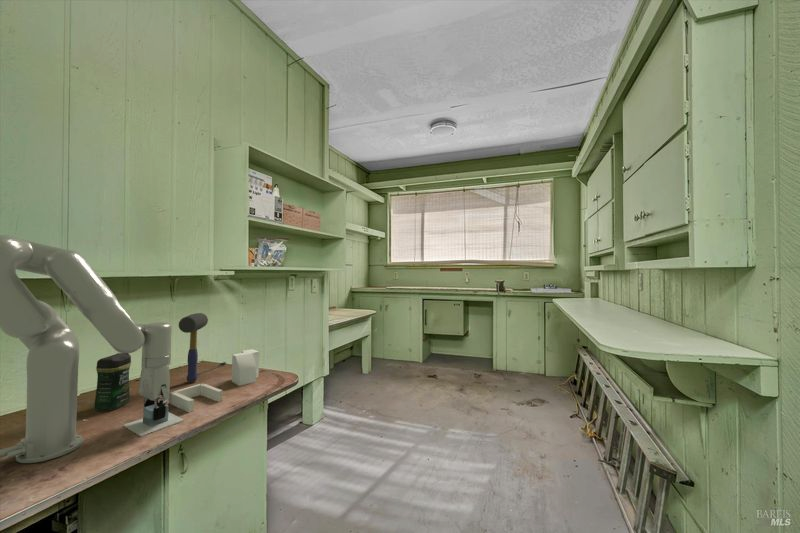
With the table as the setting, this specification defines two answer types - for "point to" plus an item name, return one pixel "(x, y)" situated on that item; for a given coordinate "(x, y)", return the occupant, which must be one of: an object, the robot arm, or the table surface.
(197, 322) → the rubber mallet
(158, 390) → the robot arm
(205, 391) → the bay
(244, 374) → the corner bracket
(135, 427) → the mat
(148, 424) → the block
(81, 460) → the table surface
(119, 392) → the coffee jar
